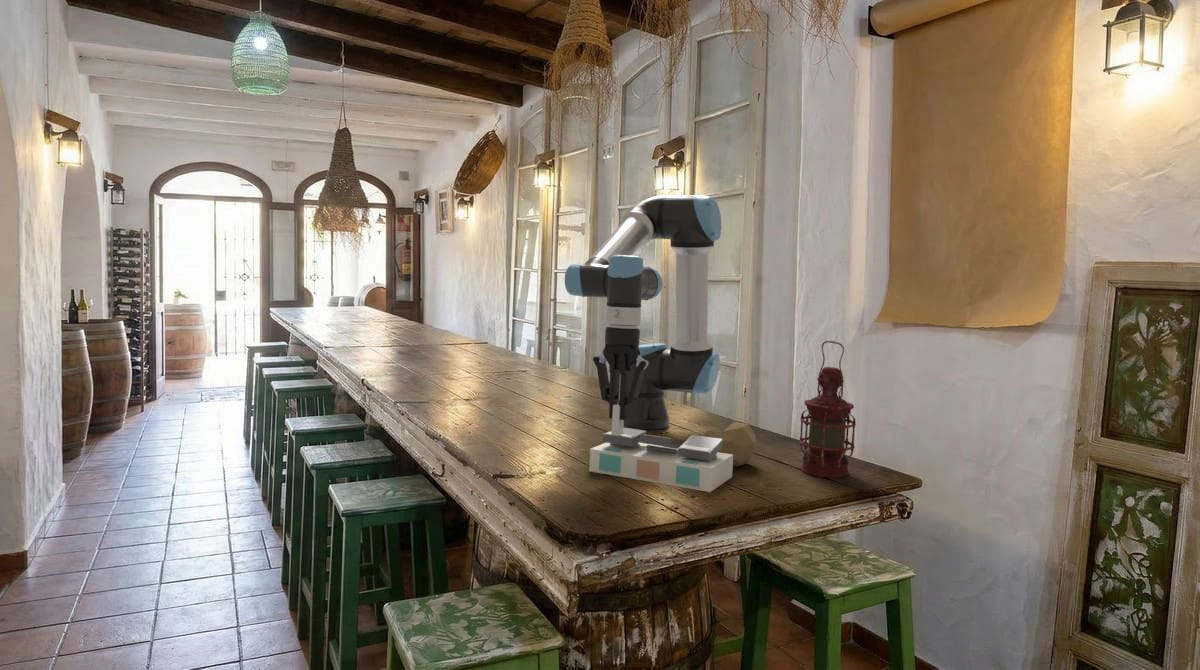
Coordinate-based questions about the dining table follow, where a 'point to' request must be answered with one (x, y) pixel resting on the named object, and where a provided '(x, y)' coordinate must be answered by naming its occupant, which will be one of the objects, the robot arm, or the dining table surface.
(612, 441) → the rocker
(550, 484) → the dining table surface
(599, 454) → the console
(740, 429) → the low-poly potato
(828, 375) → the lantern
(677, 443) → the rocker middle
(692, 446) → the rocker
